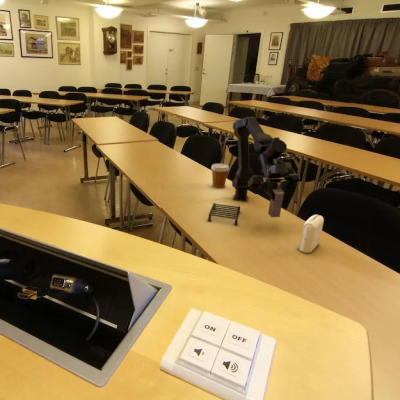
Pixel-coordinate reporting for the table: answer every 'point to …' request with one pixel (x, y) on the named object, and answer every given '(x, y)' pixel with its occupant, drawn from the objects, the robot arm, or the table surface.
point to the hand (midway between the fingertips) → (278, 200)
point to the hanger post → (276, 203)
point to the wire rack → (224, 212)
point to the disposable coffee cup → (219, 175)
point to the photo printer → (311, 233)
